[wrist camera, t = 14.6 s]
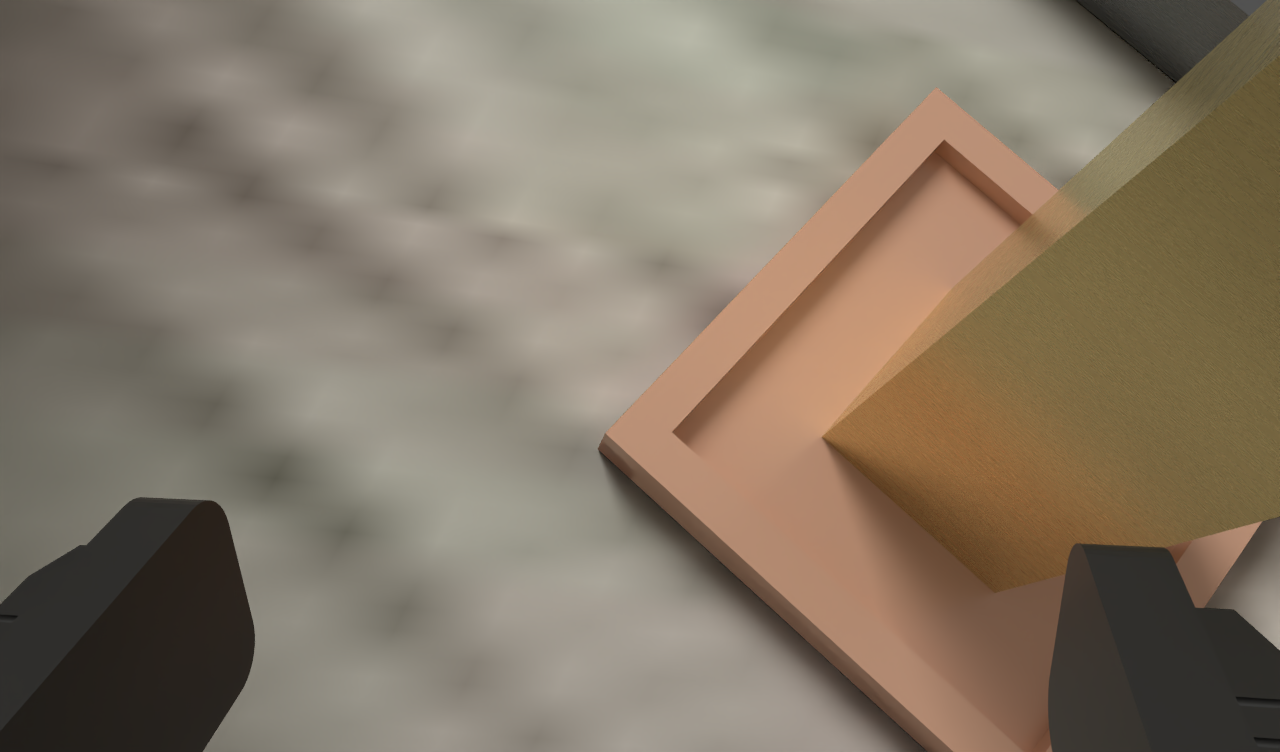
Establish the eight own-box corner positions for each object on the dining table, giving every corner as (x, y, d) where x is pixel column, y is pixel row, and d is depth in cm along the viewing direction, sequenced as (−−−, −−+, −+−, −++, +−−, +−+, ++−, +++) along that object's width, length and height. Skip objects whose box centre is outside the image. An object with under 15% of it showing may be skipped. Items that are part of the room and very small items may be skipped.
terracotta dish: (597, 449, 25) (605, 432, 24) (914, 116, 29) (936, 87, 28) (1016, 833, 24) (1048, 838, 23) (1288, 435, 28) (1330, 419, 27)
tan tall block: (821, 437, 25) (1466, -100, 9) (951, 288, 27) (1699, -396, 11) (995, 593, 25) (2005, 321, 9) (1117, 432, 26) (2166, -55, 10)
